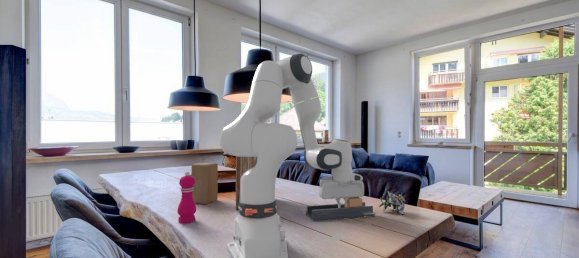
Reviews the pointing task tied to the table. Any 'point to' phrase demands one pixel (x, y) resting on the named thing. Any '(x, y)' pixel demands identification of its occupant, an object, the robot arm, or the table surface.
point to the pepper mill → (187, 200)
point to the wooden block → (205, 182)
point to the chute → (337, 212)
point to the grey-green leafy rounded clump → (394, 202)
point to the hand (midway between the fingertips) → (341, 207)
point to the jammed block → (354, 202)
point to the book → (242, 172)
